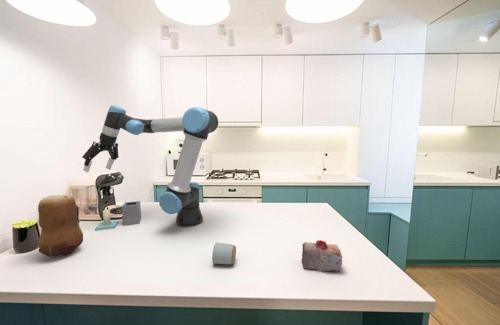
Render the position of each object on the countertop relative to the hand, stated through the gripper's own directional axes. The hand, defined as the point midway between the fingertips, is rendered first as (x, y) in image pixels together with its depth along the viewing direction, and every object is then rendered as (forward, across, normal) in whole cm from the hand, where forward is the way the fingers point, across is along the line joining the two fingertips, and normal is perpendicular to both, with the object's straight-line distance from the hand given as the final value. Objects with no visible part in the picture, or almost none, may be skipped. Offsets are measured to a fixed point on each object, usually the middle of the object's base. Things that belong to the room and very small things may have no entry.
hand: (97, 170), depth 118 cm
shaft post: (+26, +1, +18) cm, 31 cm away
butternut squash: (+24, +29, +24) cm, 45 cm away
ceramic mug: (-3, +20, +86) cm, 88 cm away
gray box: (+22, -7, +26) cm, 35 cm away
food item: (-18, +17, +119) cm, 122 cm away
